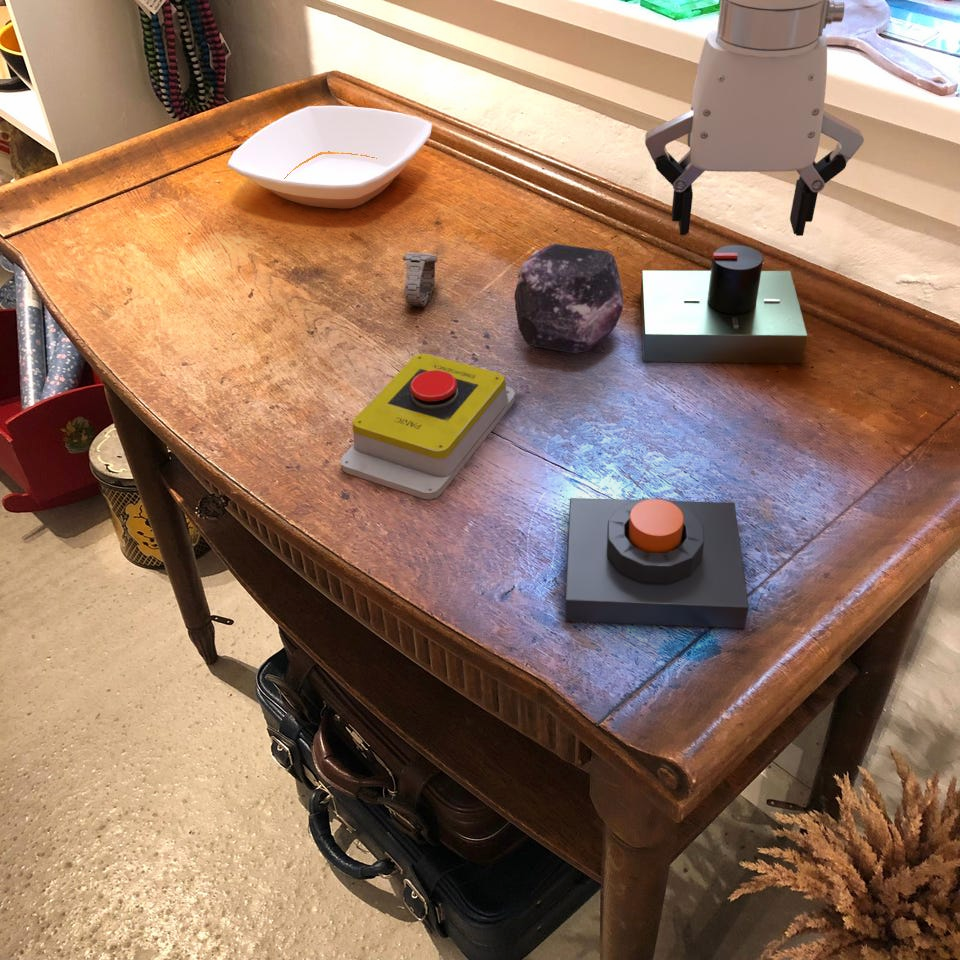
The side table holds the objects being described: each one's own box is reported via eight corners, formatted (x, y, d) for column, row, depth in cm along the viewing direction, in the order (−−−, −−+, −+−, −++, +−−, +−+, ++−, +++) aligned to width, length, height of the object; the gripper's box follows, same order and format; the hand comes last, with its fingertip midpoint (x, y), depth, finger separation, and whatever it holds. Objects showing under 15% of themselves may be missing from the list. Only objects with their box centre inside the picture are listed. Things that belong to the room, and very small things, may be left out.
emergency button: (518, 354, 82) (429, 460, 73) (519, 395, 85) (434, 502, 76) (424, 330, 86) (327, 428, 76) (428, 370, 89) (336, 469, 79)
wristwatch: (444, 283, 100) (440, 239, 97) (430, 316, 95) (425, 271, 92) (411, 281, 101) (406, 238, 97) (395, 314, 96) (389, 269, 93)
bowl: (456, 159, 122) (453, 117, 118) (371, 239, 108) (365, 195, 104) (310, 138, 129) (303, 98, 126) (213, 210, 115) (203, 168, 112)
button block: (731, 523, 72) (737, 484, 69) (744, 628, 65) (752, 589, 62) (569, 518, 74) (570, 479, 71) (565, 621, 66) (565, 582, 63)
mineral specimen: (584, 277, 96) (607, 207, 87) (624, 363, 92) (653, 299, 83) (492, 297, 93) (506, 227, 84) (529, 386, 89) (547, 323, 80)
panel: (785, 297, 94) (790, 269, 92) (802, 363, 86) (808, 334, 84) (640, 297, 96) (642, 268, 94) (643, 361, 88) (645, 332, 86)
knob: (753, 288, 90) (760, 241, 87) (758, 314, 87) (766, 266, 84) (705, 288, 91) (710, 241, 88) (709, 313, 88) (714, 266, 84)
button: (680, 517, 68) (682, 499, 67) (683, 554, 65) (685, 536, 64) (628, 515, 68) (629, 497, 67) (629, 552, 66) (630, 534, 64)
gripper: (879, 2, 74) (834, 207, 86) (651, 6, 76) (637, 207, 88) (900, 36, 69) (849, 250, 81) (654, 40, 71) (639, 249, 82)
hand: (739, 227), depth 84 cm, fingers open, 9 cm apart
